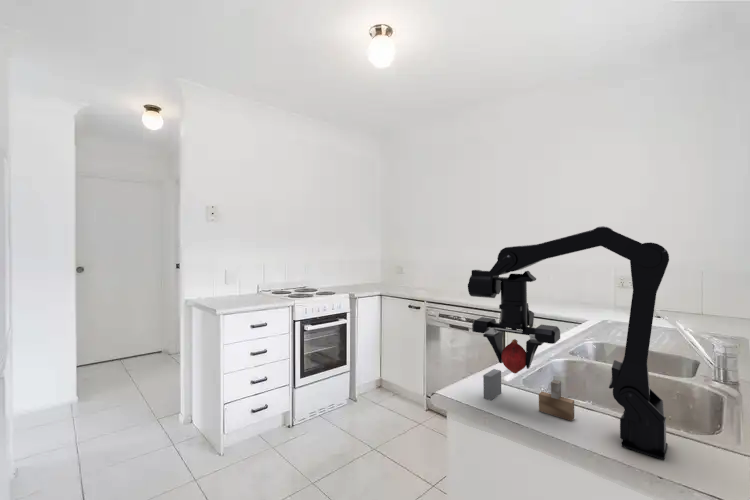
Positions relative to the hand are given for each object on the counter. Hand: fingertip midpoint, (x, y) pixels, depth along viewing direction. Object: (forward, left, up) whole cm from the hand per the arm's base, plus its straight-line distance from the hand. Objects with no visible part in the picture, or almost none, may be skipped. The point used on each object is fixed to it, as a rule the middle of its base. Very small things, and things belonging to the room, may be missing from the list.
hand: (514, 365), depth 83 cm
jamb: (+8, -5, -11) cm, 14 cm away
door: (-8, -5, -11) cm, 14 cm away
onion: (0, 0, -2) cm, 2 cm away
